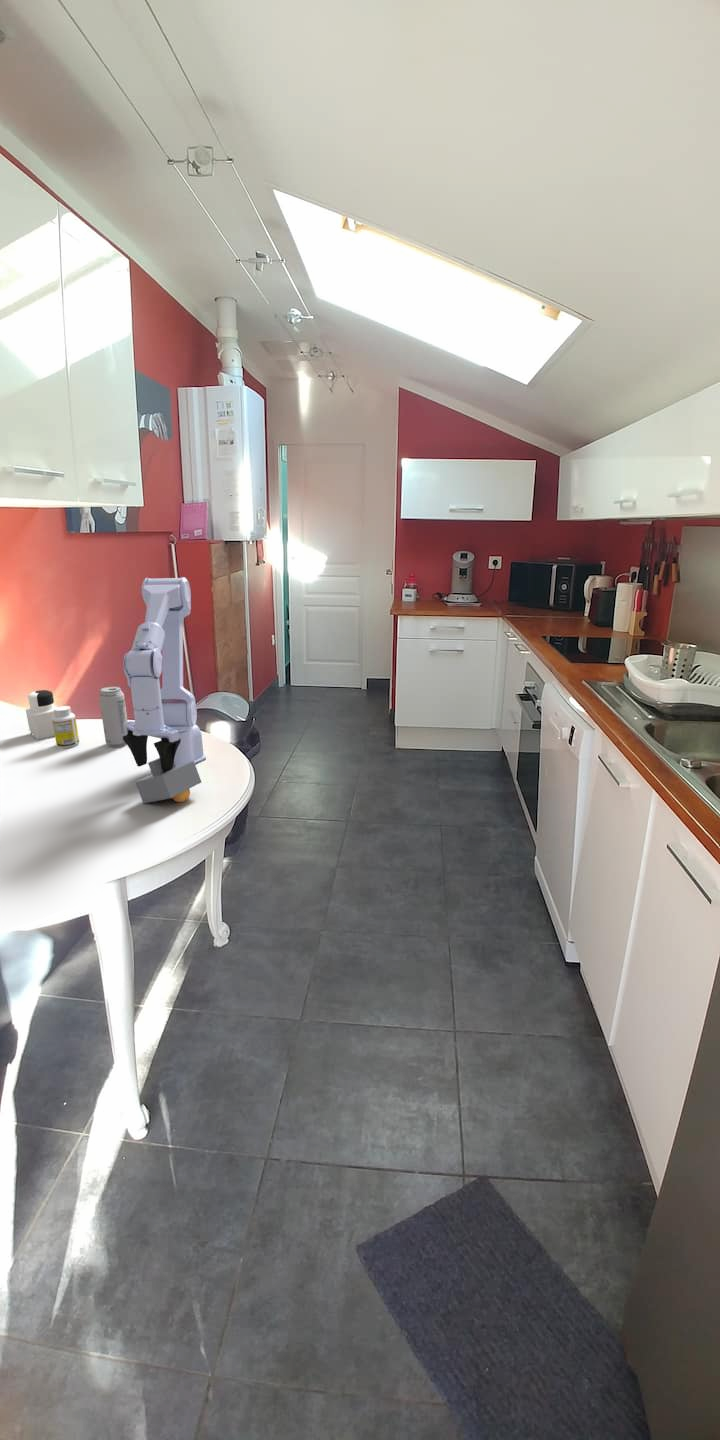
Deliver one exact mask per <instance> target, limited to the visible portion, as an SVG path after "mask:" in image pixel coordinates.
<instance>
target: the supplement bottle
mask: <svg viewBox="0 0 720 1440" xmlns="http://www.w3.org/2000/svg"><path fill="white" fill-rule="evenodd" d="M54 714H55V715H54V716H53V717H52V722H53V728H54V733H55V736H54V738H55V743H56V746H57V747H58V748H61V749H70V748H74V747H76V746H78V745H79V743H80V736H79V731H78V726H77V725H78V724H77V720H76V715H75V714H74V713H73V712H72V709H71V706H69V705H62V706H56V708H54Z"/></svg>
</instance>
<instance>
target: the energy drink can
mask: <svg viewBox="0 0 720 1440" xmlns="http://www.w3.org/2000/svg"><path fill="white" fill-rule="evenodd" d="M121 689H122V688H121V687H120V686H117V685H116V686H114V685H113V686H106V687H102V688H101V689H100V692H99V693H100V694H99V696H98V698H99V706H100V711H101V718H102V725H103V733H104V740H105V741H104V742H105V743H106V745H108V747H110V748H121V747H125V746H128V745H127V744H126V743H125V742H124V740H123V736H125V735H127V733H126V732H124V728H123V723H126V722H129V721H128V714H127V708H126V707H127V705H126V700H125V699H126V698H125V694H124V692H123V691H122V690H121Z"/></svg>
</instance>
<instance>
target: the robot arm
mask: <svg viewBox="0 0 720 1440" xmlns="http://www.w3.org/2000/svg"><path fill="white" fill-rule="evenodd" d="M190 585H191V584H190V582H189V580H188V579H187V578H186V577H185V576H183V577H182V576H181V577H170V578H169V577H164V578H161V577H160V578H159V577H158V578H149V577H145V578H144V579H143V581H142V583H141V595H142V596H141V597H142V599H143V602H144V603H145V604H144V605H145V606H146V612H145V617H144V618H145V619H144V622H143V623H141V624H140V625H138V627H137V628H136V629H137V630H136V634H135V637H134V639H133V643H132V647H131V650H129V651H128V652H126V653H125V654H124V656H123V671H124V672H123V673H124V675H125V677H126V680H127V681H126V682H127V686H128V688H130V690H131V699H132V708H133V714H134V716H133V717H134V721H133V720H132V721H130V720H129V721H128V722H126V723H123V728H124V732H126V733H127V735H125V736H123V740H124V742H125V743H126V744H127V745H126V746H127V747H128V748H129V750H130V752H131V755H132V756H133V759H134V761H135V763H136V765H137V767H142V766H145V765H147V764H148V752H147V750H148V749H147V747H148V738H149V737H152V738H156V739H160V740H159V741H156V742H153V746H154V748H155V749H156V751H157V754H158V756H159V757H158V758H160V761H161V767H162V771H163V772H167V771H169V770H171V769H173V763H175V765H179V764H183V763H188V762H192V761H194V763H195V764H198V763H200V762H202V761H203V760H206V759H207V756H205V753H204V745H203V735H202V731H201V729H200V727H199V726H198V725H197V720H198V719H197V717H198V712H197V711H198V710H197V705H196V697H195V696H194V694H193V693H192V692H190V691H189V690H187V689H186V688H185V687H184V637H183V636H184V620H185V618H186V617H187V616H189V615H190V614H191V609H192V603H191V602H192V600H191V598H192V597H191V596H192V594H191V591H192V590H191V586H190ZM161 674H162V675H161ZM161 676H162V679H161V680H162V687H161V683H160V677H161Z"/></svg>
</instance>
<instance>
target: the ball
mask: <svg viewBox="0 0 720 1440" xmlns="http://www.w3.org/2000/svg"><path fill="white" fill-rule="evenodd" d="M190 789H191V788H190ZM190 789H188V790H186V791H184V792H182V793H180V794H178V795H176V796H174V797H172V798H171V799H173V800H174V801H175V802H176V803H182V802H183V803H184V802H186V801H187V800H188V799H189V797H190V795H191V790H190Z"/></svg>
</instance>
